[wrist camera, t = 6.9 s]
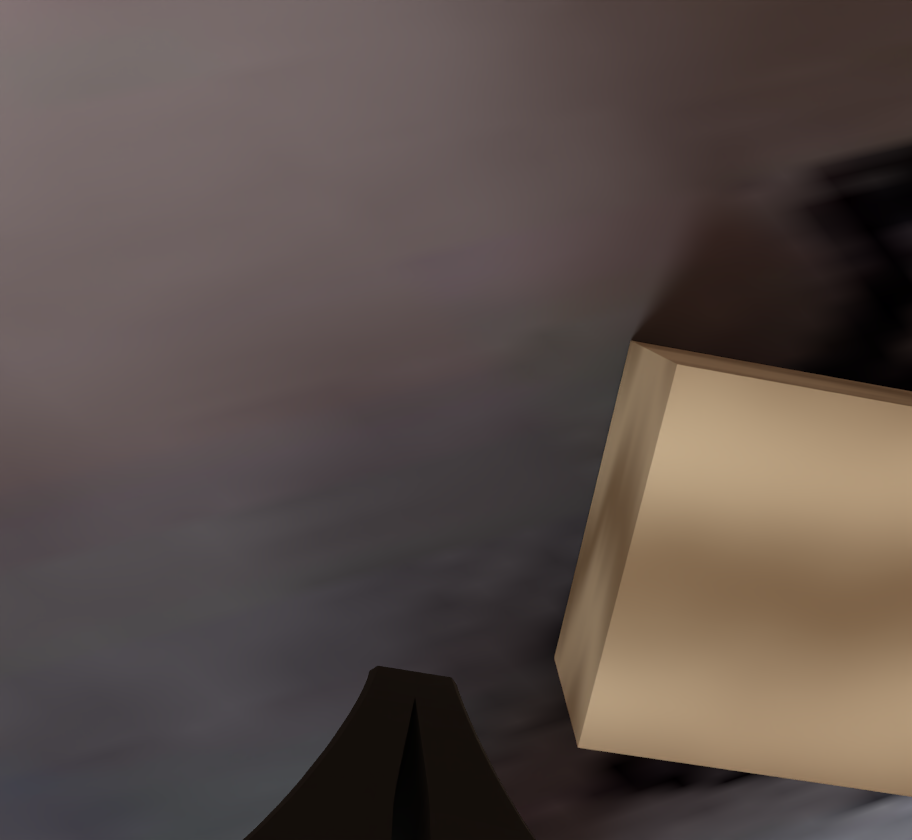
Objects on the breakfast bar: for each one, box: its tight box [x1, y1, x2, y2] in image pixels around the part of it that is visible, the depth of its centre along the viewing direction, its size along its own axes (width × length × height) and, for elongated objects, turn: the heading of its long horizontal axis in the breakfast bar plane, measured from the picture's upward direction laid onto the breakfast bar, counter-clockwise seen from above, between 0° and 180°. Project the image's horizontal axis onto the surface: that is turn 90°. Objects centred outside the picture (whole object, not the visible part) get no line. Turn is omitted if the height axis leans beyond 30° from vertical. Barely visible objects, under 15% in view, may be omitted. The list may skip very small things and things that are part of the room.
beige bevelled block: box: [554, 341, 912, 797], centre depth 19 cm, size 10×9×4 cm
